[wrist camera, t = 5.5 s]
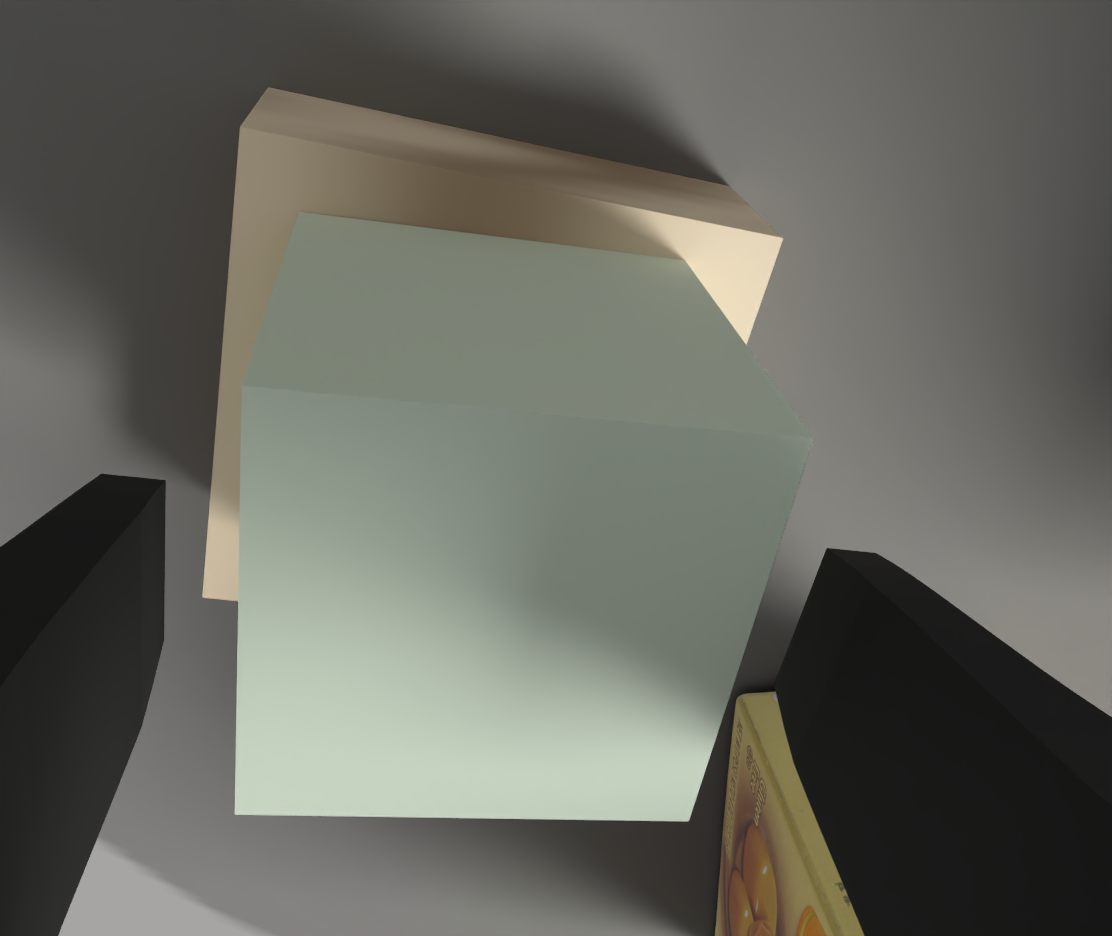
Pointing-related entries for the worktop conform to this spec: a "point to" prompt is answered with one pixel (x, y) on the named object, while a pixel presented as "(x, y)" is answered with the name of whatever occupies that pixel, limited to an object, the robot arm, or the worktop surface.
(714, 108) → the worktop surface
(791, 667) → the robot arm
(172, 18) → the worktop surface
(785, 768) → the candy box
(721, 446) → the sage cube
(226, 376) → the beech block
